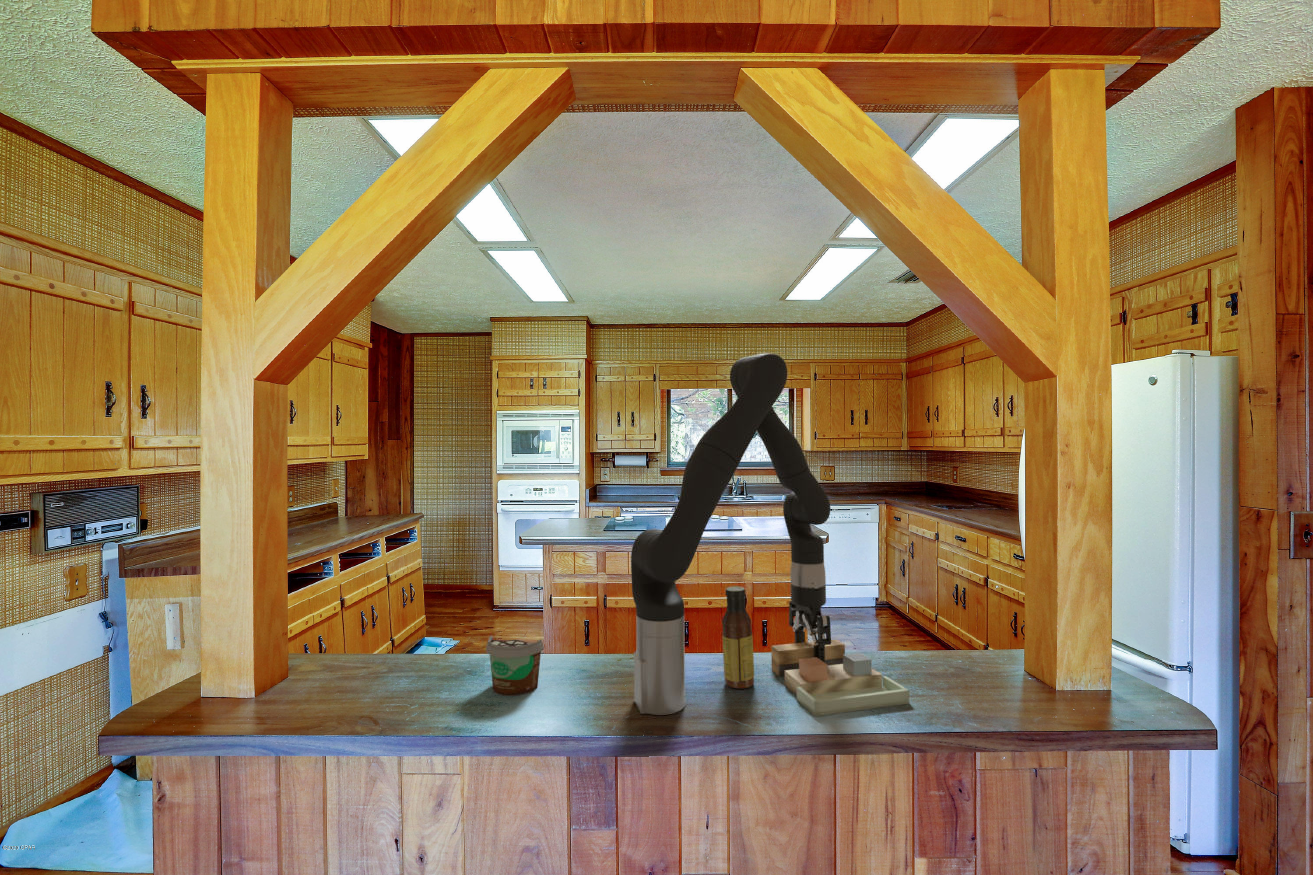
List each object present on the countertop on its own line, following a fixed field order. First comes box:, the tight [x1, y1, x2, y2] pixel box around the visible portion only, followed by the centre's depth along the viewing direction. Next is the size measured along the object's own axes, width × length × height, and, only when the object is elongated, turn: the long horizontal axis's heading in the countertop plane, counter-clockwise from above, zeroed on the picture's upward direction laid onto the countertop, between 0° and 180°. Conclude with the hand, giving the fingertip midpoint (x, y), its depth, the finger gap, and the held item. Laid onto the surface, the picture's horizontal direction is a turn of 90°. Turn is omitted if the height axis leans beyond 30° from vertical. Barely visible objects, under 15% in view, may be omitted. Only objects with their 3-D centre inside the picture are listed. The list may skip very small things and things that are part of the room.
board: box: [784, 664, 883, 696], centre depth 119 cm, size 18×7×3 cm, turn 104°
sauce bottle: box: [721, 585, 755, 690], centre depth 121 cm, size 7×6×20 cm
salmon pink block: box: [799, 657, 827, 682], centre depth 117 cm, size 4×4×3 cm
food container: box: [485, 635, 545, 697], centre depth 118 cm, size 12×6×10 cm, turn 76°
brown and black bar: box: [770, 638, 846, 678], centre depth 128 cm, size 16×4×6 cm, turn 104°
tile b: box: [843, 652, 873, 676], centre depth 119 cm, size 4×4×3 cm
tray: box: [796, 675, 910, 717], centre depth 112 cm, size 20×7×2 cm, turn 104°
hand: (809, 654), depth 129 cm, fingers open, 8 cm apart
